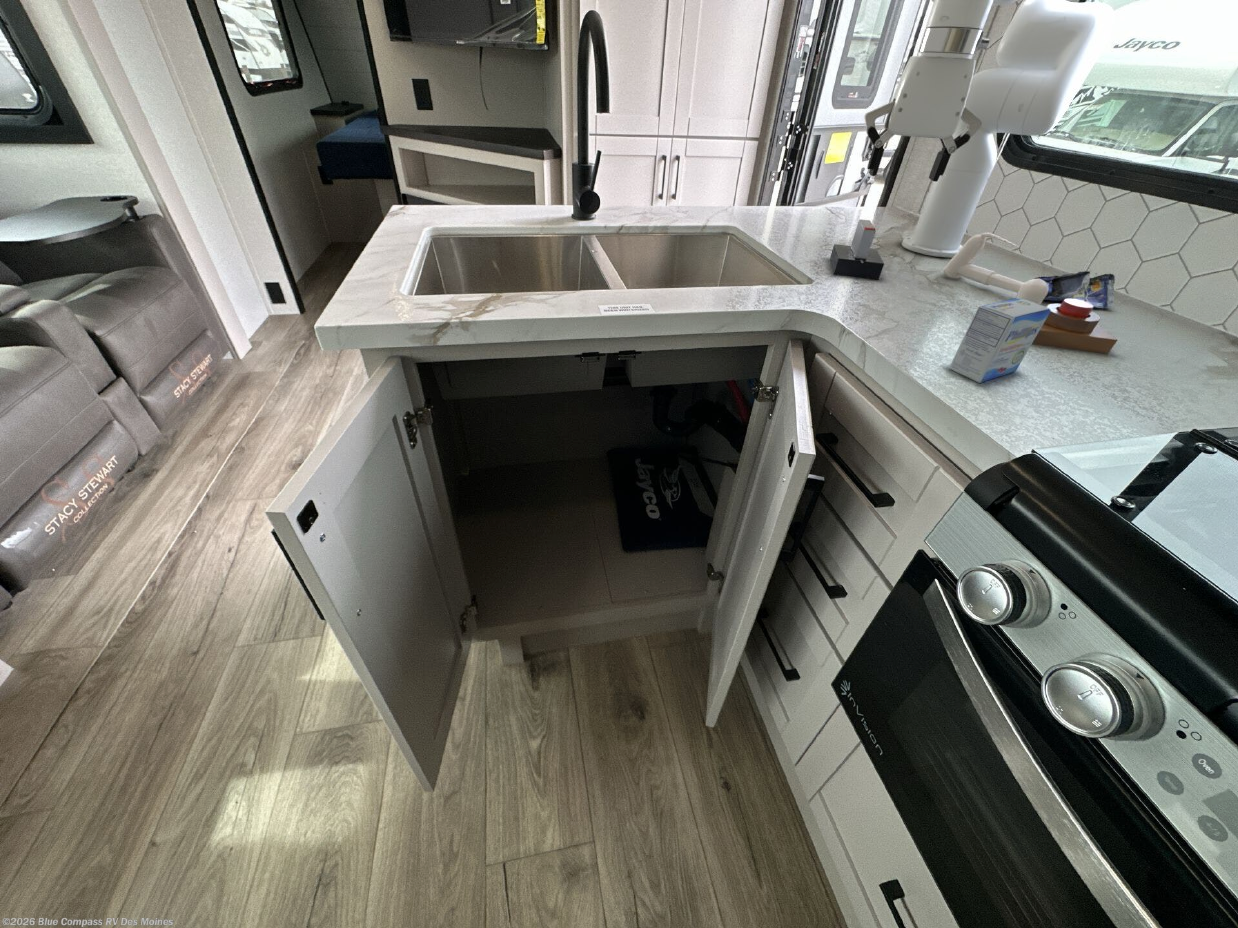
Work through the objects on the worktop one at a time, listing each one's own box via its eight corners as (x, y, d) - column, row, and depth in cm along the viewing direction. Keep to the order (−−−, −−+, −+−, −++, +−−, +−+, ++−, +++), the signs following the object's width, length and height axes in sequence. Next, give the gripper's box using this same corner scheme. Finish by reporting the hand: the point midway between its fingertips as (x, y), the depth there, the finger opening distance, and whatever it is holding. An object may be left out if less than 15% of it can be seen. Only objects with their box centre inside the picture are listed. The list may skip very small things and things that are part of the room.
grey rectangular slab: (850, 246, 100) (859, 217, 97) (861, 248, 100) (870, 219, 96) (855, 258, 94) (864, 228, 91) (866, 259, 94) (876, 229, 90)
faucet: (1006, 331, 90) (1056, 284, 82) (938, 268, 98) (977, 220, 90) (1020, 328, 91) (1070, 281, 83) (952, 266, 99) (992, 218, 91)
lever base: (818, 256, 104) (822, 240, 102) (881, 264, 102) (887, 247, 100) (822, 275, 95) (827, 257, 93) (891, 283, 93) (898, 266, 91)
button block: (1011, 323, 81) (1025, 298, 78) (1082, 332, 79) (1098, 306, 77) (1030, 344, 74) (1046, 317, 72) (1107, 354, 73) (1126, 327, 70)
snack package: (1087, 320, 83) (1119, 306, 88) (1103, 279, 80) (1136, 267, 85) (1007, 306, 93) (1041, 295, 97) (1019, 269, 89) (1053, 259, 94)
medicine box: (978, 384, 64) (1015, 318, 58) (946, 368, 67) (978, 304, 62) (1015, 372, 67) (1054, 308, 62) (983, 358, 70) (1017, 295, 65)
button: (1052, 308, 76) (1059, 297, 75) (1079, 312, 76) (1087, 300, 74) (1063, 317, 73) (1070, 305, 72) (1091, 321, 73) (1098, 309, 72)
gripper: (1002, 50, 77) (950, 178, 87) (881, 44, 79) (846, 169, 90) (1021, 48, 71) (964, 186, 82) (890, 42, 74) (851, 176, 84)
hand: (902, 177), depth 86 cm, fingers open, 9 cm apart
